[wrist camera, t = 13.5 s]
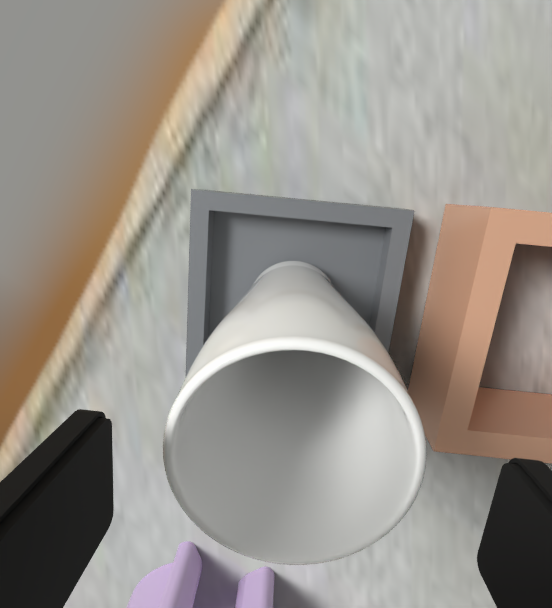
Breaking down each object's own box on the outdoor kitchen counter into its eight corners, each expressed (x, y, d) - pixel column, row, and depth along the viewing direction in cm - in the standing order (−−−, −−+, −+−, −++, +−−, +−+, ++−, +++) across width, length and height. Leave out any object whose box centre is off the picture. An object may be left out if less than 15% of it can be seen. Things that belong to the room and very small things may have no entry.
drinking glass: (332, 232, 23) (400, 301, 8) (359, 337, 25) (454, 543, 10) (223, 264, 24) (115, 378, 9) (256, 364, 25) (209, 591, 11)
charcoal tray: (401, 208, 23) (414, 210, 21) (370, 389, 27) (378, 409, 24) (201, 189, 24) (191, 189, 21) (195, 371, 27) (185, 389, 24)
